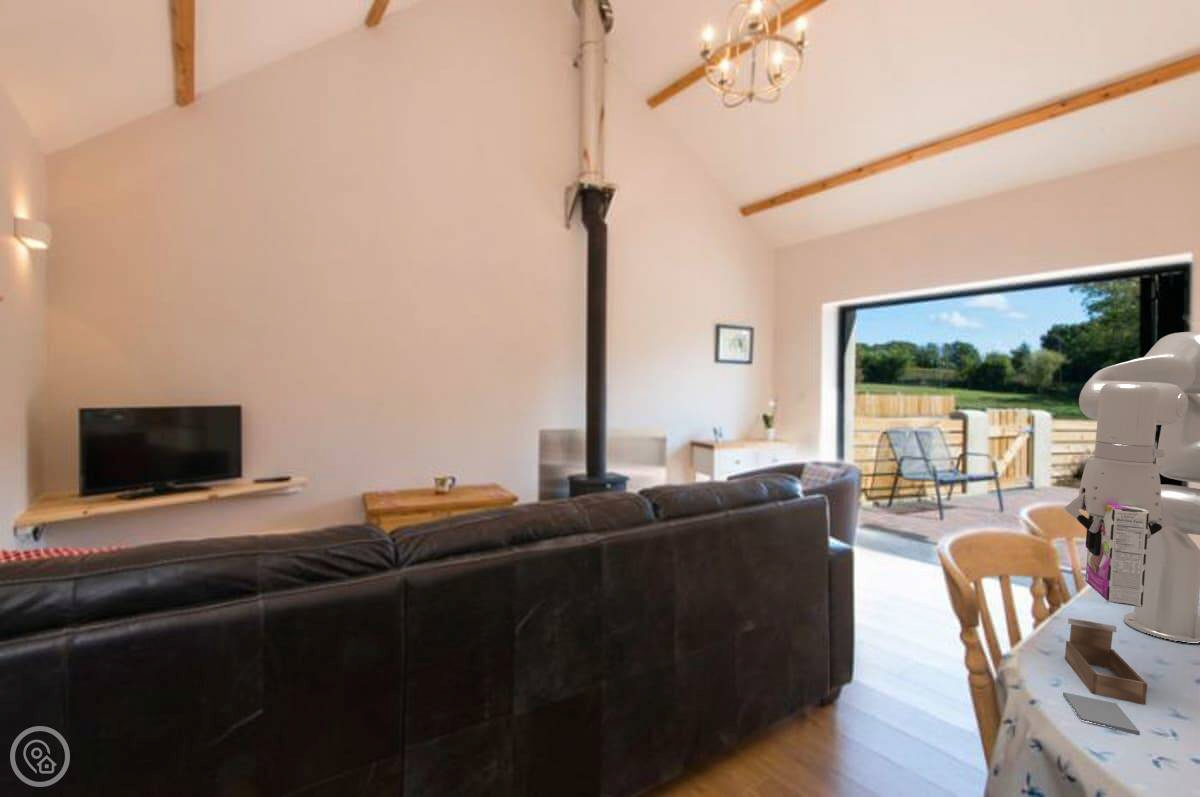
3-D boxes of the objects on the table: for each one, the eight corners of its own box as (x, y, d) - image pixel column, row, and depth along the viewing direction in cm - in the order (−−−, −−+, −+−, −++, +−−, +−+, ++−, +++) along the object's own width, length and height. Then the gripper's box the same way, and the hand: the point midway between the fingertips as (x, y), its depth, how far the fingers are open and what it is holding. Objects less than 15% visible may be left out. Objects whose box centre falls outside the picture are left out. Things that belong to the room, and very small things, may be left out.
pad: (1116, 706, 92) (1116, 703, 92) (1139, 734, 85) (1139, 731, 85) (1062, 694, 95) (1063, 692, 95) (1081, 721, 88) (1081, 718, 88)
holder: (1111, 667, 105) (1115, 625, 104) (1145, 704, 93) (1150, 657, 93) (1064, 658, 108) (1068, 617, 107) (1091, 693, 96) (1096, 647, 95)
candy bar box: (1082, 581, 106) (1089, 494, 105) (1117, 586, 104) (1124, 498, 103) (1105, 602, 96) (1112, 506, 95) (1144, 608, 93) (1151, 510, 93)
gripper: (1176, 455, 98) (1166, 557, 99) (1055, 446, 105) (1047, 542, 106) (1201, 461, 91) (1190, 571, 92) (1070, 452, 98) (1061, 554, 99)
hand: (1114, 554), depth 99 cm, fingers closed on candy bar box, 5 cm apart
